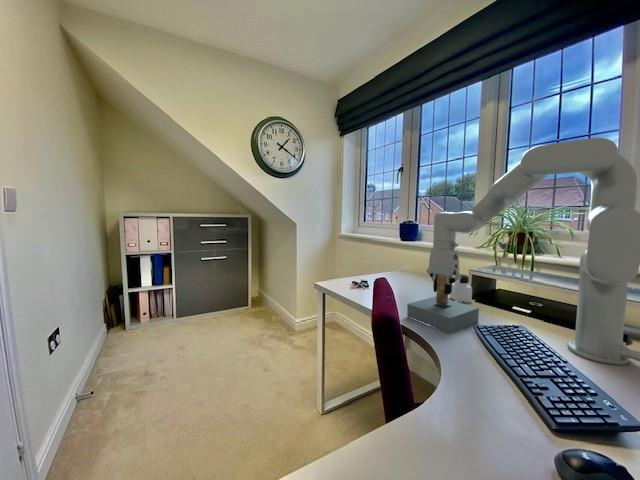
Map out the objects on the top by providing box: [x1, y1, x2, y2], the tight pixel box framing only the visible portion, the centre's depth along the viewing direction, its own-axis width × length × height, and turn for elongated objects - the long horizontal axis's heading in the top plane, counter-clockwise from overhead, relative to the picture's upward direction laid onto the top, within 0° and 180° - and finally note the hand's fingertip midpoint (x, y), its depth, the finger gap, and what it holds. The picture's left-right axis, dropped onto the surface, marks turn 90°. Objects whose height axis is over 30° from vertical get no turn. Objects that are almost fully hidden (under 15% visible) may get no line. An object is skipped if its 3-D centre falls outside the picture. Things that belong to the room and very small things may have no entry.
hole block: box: [406, 295, 480, 335], centre depth 106 cm, size 18×18×6 cm
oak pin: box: [435, 274, 449, 305], centre depth 105 cm, size 4×4×12 cm
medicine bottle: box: [449, 273, 473, 303], centre depth 129 cm, size 7×7×12 cm
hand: (442, 292), depth 105 cm, fingers closed on oak pin, 4 cm apart
